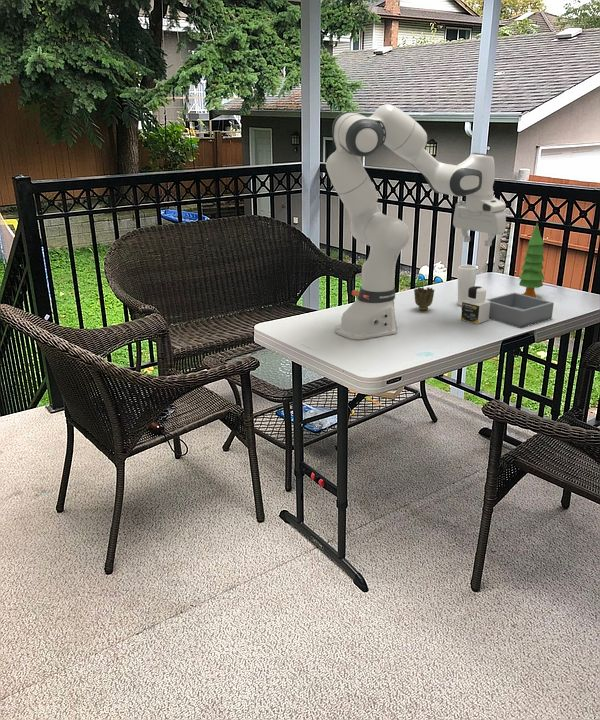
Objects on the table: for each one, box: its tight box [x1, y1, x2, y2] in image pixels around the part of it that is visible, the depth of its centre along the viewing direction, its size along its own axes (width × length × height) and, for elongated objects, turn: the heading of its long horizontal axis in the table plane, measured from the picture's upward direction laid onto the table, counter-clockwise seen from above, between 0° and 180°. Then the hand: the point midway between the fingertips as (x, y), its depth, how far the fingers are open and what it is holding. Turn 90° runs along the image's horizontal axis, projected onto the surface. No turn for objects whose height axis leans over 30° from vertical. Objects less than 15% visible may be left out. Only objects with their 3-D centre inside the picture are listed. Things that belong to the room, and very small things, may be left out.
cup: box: [413, 286, 435, 312], centre depth 238 cm, size 8×7×8 cm
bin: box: [486, 291, 555, 329], centre depth 228 cm, size 17×17×6 cm
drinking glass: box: [457, 264, 478, 307], centre depth 242 cm, size 7×7×15 cm
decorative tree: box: [518, 222, 546, 298], centre depth 247 cm, size 10×9×30 cm
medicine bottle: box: [460, 285, 490, 325], centre depth 225 cm, size 7×7×12 cm
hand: (477, 243), depth 219 cm, fingers open, 8 cm apart
